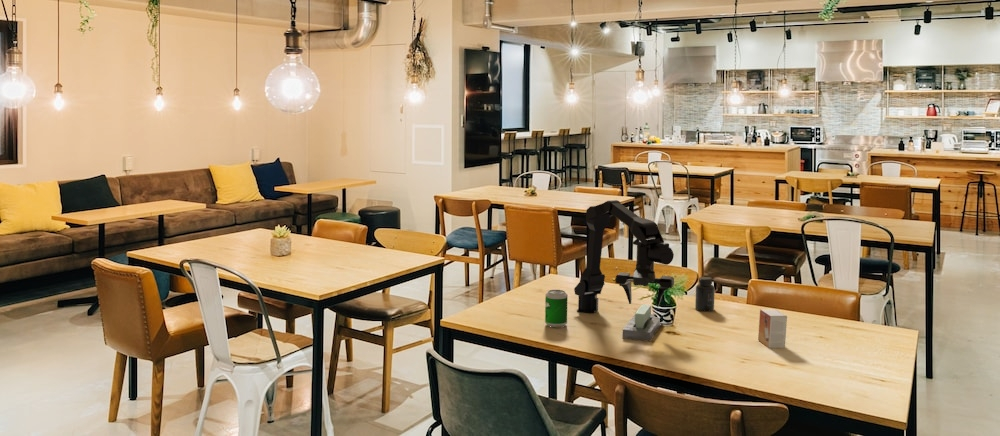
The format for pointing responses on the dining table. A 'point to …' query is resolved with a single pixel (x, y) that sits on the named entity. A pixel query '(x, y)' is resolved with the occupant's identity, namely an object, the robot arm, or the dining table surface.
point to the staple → (642, 315)
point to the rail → (641, 329)
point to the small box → (772, 328)
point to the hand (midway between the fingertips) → (643, 305)
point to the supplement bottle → (705, 295)
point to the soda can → (556, 308)
